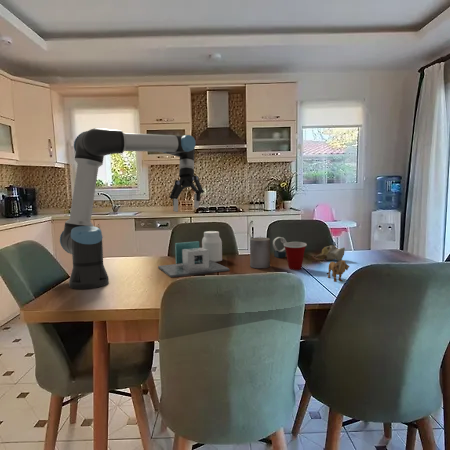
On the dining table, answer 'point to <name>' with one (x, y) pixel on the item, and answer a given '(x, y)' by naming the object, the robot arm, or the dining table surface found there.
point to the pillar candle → (259, 252)
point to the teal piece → (185, 246)
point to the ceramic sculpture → (331, 253)
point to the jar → (213, 245)
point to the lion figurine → (337, 269)
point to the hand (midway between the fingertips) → (185, 209)
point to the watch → (279, 253)
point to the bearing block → (193, 264)
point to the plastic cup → (295, 254)
